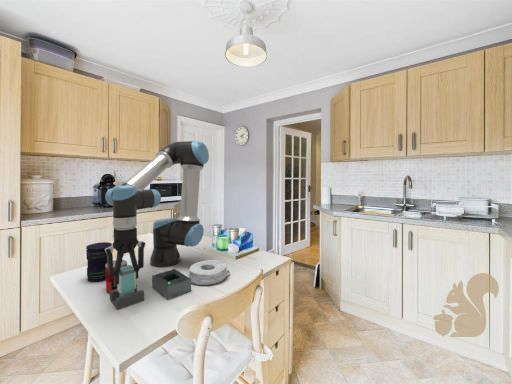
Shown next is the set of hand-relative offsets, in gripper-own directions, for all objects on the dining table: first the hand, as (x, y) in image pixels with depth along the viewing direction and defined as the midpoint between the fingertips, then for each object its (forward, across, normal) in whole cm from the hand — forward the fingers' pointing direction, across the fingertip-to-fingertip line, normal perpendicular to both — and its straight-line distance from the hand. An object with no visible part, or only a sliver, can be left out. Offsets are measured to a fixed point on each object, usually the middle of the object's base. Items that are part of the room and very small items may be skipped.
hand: (126, 289), depth 90 cm
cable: (+5, +33, -4) cm, 34 cm away
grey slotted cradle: (+4, 0, 0) cm, 4 cm away
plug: (+4, 0, 0) cm, 4 cm away
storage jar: (+4, -2, +29) cm, 29 cm away
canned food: (+4, 0, +12) cm, 13 cm away
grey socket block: (+4, +16, -3) cm, 17 cm away
